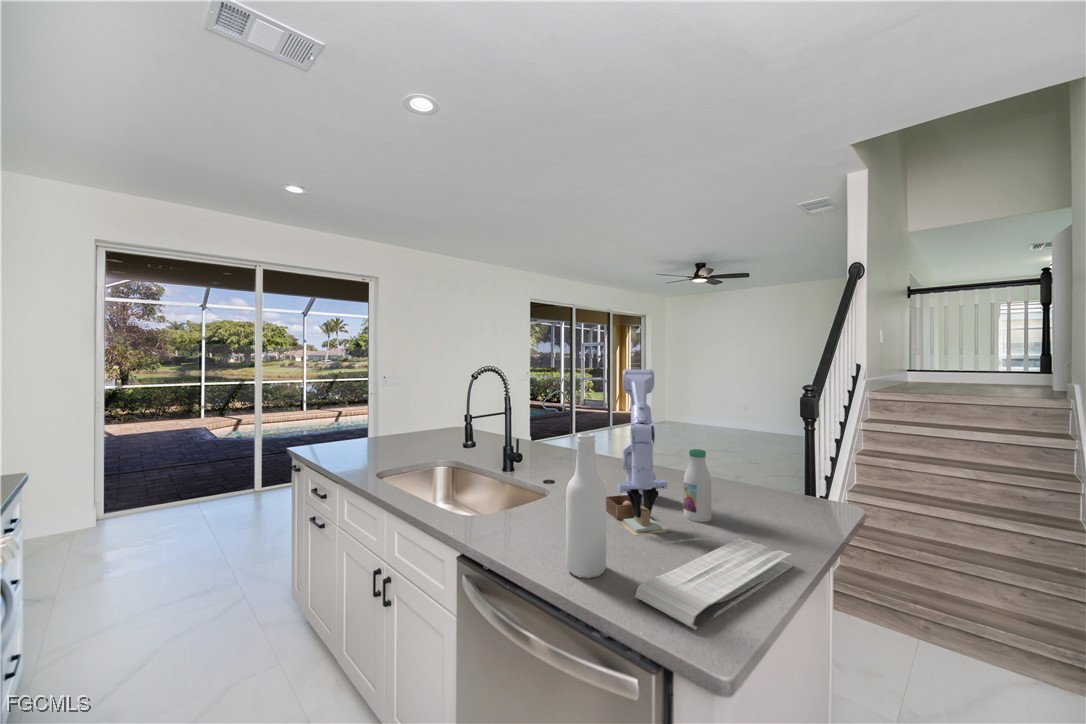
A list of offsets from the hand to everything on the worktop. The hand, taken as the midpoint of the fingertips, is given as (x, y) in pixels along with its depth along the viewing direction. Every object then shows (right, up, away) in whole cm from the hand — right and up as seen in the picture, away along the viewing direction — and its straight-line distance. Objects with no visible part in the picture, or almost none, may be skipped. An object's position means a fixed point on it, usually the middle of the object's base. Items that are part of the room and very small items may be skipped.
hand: (642, 515), depth 122 cm
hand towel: (+10, -4, -30) cm, 32 cm away
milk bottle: (+18, -3, +7) cm, 19 cm away
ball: (-2, -3, +13) cm, 13 cm away
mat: (0, -3, 0) cm, 3 cm away
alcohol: (-18, -4, -25) cm, 31 cm away
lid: (0, -3, 0) cm, 3 cm away
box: (-3, -3, +11) cm, 11 cm away
